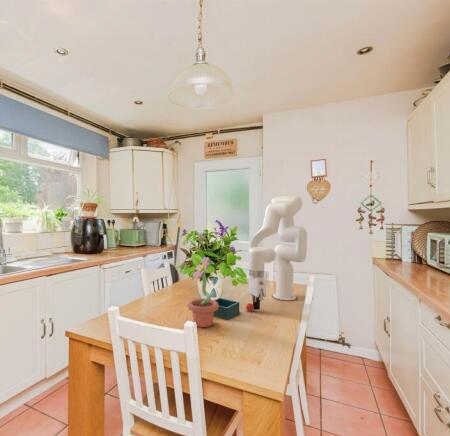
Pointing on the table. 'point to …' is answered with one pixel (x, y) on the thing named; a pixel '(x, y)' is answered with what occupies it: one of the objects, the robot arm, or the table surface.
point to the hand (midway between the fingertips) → (256, 309)
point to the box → (226, 308)
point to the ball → (250, 307)
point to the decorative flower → (203, 307)
